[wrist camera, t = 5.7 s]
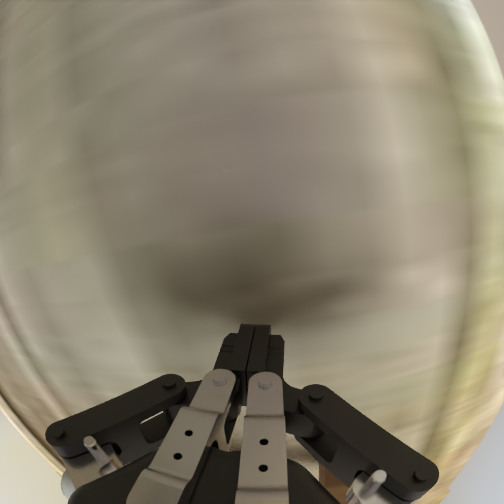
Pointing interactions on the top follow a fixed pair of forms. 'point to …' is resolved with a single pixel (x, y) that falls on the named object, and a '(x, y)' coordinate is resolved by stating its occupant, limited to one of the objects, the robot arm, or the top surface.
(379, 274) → the top surface
